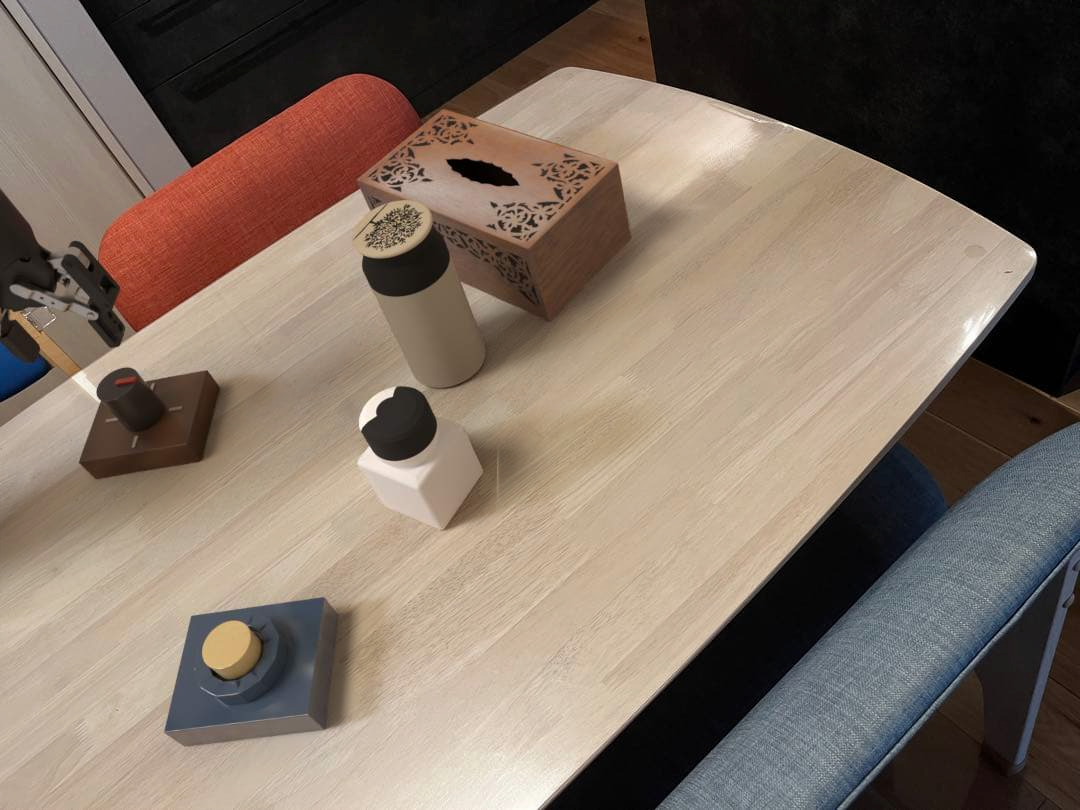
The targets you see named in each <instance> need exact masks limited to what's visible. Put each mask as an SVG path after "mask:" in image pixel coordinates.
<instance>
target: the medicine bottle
mask: <svg viewBox="0 0 1080 810" xmlns="http://www.w3.org/2000/svg"><path fill="white" fill-rule="evenodd" d="M358 427H359V430H360V433H361V434H362V436H363V438H364V440H365V441H366V443H367V444H368V447H367V448H366V449H365V451H364V452H363V453H362V454H361V456H360V457H359V458H358V460H357V466H358V468H359V470H360V471H361V472H362V475H363V476H364V478H365V479H366V481H367V483H368V484H369V485H370V487H371V489H372V490H373V491H374V493H375V495H376V496H377V498H378V500H379V501H380V503H381V504H382V506H383V507H385V508H387V509H390V510H392V511H394V512H396V513H398V514H401V515H404V516H405V517H408V518H410V519H413V520H415V521H417V522H420V523H421V524H425V525H426V526H428V527H432V528H434V529H435V530H439V531H444V530H445V529H446V528H447V526H448V525H449V523H450V522H451V520H452V519H453V518H454V516H455V515H456V513H457V511H459V509H460V507H461V506H462V504H463V503H464V501H465V500H466V498H467V497H468V495H469V494H470V493H471V491H473V488H474V487H475V485H476V484H477V482H478V481H479V479H480V478H481V477H482V475H483V474H484V468H483V466H482V464H481V462H480V460H479V457H478V456H477V453H476V450H475V449H474V446H473V445H472V442H471V440H470V437H469V435H468V433H467V431H466V429H465V427H464V426H463V425H462V424H459V423H456V422H453V421H450V420H448V419H445V418H442V417H440V416H436V415H435V413H434V411H433V409H432V407H431V405H430V402H429V401H428V399H427V397H426V396H425V394H424V393H423V392H422V391H421V390H419V389H417V388H414V387H412V386H405V385H398V386H396V385H395V386H391V387H388V388H386V389H383V390H381V391H379V392H377V393H376V394H374V395H373V396H372V397H371V398H370V399H369V400H368V401H367V402H366V403H365V404H364V406H363V407H362V410H361V412H360V414H359V418H358Z"/></svg>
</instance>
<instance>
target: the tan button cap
mask: <svg viewBox="0 0 1080 810" xmlns="http://www.w3.org/2000/svg"><path fill="white" fill-rule="evenodd" d="M261 652H262V644H261V640H260V639H259V637H258V636H257V635H256V634H255V633H254V632H253V631H252V630H251V629H250V628H249V627H248V626H247V625H246V624H244V623H243V622H240V621H228V622H225V623H222V624H220V625H219V626H217V627H216V628H215V629H214V630H212V631H211V633H210V634H209V635H208V636H207V638H206V640H205V642H204V644H203V648H202V657H203V660H204V662H205V663H206V664H207V665H208V666H209V667H210V668H211V669H212V670H213V671H215V672H216V673H217V674H218V675H219V676H221V677H223V678H225V679H236V678H240V677H242V676H244V675H246V674H247V673H248V672H250V671H251V670H252V669H253V668H254V667H255V665H256V664H257V662H258V661H259V659H260V656H261Z"/></svg>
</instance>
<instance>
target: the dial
mask: <svg viewBox="0 0 1080 810" xmlns="http://www.w3.org/2000/svg"><path fill="white" fill-rule="evenodd" d="M95 390H96V391H95V393H96V397H97V398H98V400H99V401H100V402H101V401H102V403H103V404H104V405H105V406H106V407H107V408H108V409H109V410H110V411H111V412H112V413H113V415H114V416H115V417H116V418H117V419H118V420H119V421H120V422H121V423H122V424H123V426H124V427H125V428H126V429H128V430H130V431H141V430H144V429H146V428H148V427H150V426H152V425H153V424H154V423H155V422H157V420H158V419H159V418H160V417H161V415H162V413H163V410H164V405H163V402H162V401H161V400H160V399H159V397H158V396H157V395H156V394H155V393H154V391H153V390H152V389H151V388H150V387H149V385H148V384H147V383H146V382H145V380H144V378H143V377H142V376H141V375H140V374H139V372H138V371H137V370H136V369H134V368H132V367H130V366H129V367H128V366H127V367H126V366H125V367H120V368H117V369H115V370H113V371H111V372H109V373H108V374H106V375H105V376H104V377H102V379H101V380H100V382H99V383H98V385H97V387H96V389H95Z"/></svg>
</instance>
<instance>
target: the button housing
mask: <svg viewBox="0 0 1080 810" xmlns="http://www.w3.org/2000/svg"><path fill="white" fill-rule="evenodd" d="M228 621H240V622H243V623H244V624H246V625H247V626H248V627H249V628H250V629H251V630H252V631H253V632H254V633H255V634H256V635H257V636H258V637H259V639H260V640H261V644H262V652H261V656H260V659H259V661H258V662H257V664H256V665H255V667H254V668H253V669H252V670H251V671H250V672H248V673H247V674H246V675H244V676H242V677H240V678H236V679H225V678H223V677H221V676H219V675H218V674H217V673H216V672H215V671H213V670H212V669H211V668H210V667H209V666H208V665H207V664H206V663H205V662H204V660H203V657H202V648H203V644H204V642H205V640H206V638H207V636H208V635H209V634H210V633H211V631H212V630H214V629H215V628H216V627H217V626H219V625H220V624H222V623H225V622H228ZM338 622H339V613H338V612H337V610H336V609H335V608H334V607H333V606H332V604H331V603H330V602H329V601H328V600H327V599H326V597H325V596H321V597H314V598H307V599H300V600H292V601H286V602H278V603H273V604H263V605H257V606H250V607H243V608H235V609H230V610H222V611H221V610H220V611H216V612H208V613H201V614H200V613H199V614H195V615H191V616H190V619H189V622H188V627H187V631H186V636H185V641H184V644H183V648H182V653H181V657H180V661H179V665H178V670H177V674H176V679H175V684H174V687H173V691H172V692H173V693H172V696H171V701H170V705H169V710H168V713H167V719H166V722H165V727H164V731H163V733H164V734H165V735H166V736H168V737H169V738H171V739H172V740H175V742H177V743H178V744H180V745H181V746H183V747H192V746H193V747H194V746H201V745H210V744H219V743H226V742H234V741H242V740H251V739H260V738H268V737H276V736H285V735H294V734H300V733H301V734H303V733H309V732H317V731H318V732H319V731H325V730H326V723H327V714H328V707H329V697H330V688H331V680H332V674H333V673H332V672H333V664H334V656H335V646H336V638H337V630H338Z"/></svg>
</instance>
